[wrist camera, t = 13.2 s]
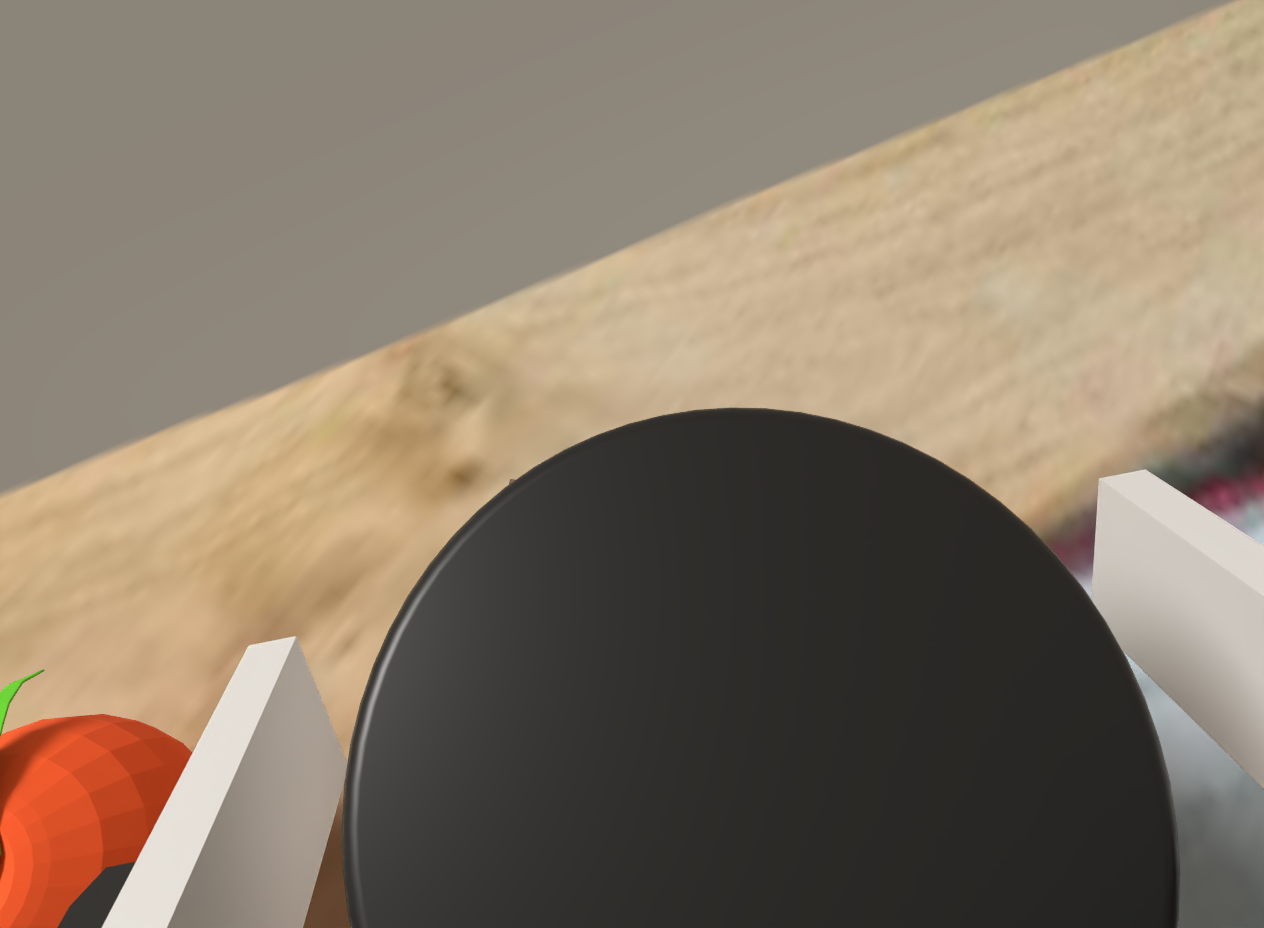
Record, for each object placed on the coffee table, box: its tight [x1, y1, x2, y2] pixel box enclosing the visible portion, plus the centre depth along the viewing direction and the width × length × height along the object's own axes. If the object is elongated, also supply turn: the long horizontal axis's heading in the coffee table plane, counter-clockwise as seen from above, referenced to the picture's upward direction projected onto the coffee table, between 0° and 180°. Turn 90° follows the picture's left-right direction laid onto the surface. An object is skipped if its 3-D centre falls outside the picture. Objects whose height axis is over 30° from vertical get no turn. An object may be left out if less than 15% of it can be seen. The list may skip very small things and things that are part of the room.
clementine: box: [0, 669, 192, 928], centre depth 20 cm, size 8×7×7 cm
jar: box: [342, 408, 1180, 928], centre depth 14 cm, size 9×8×12 cm
